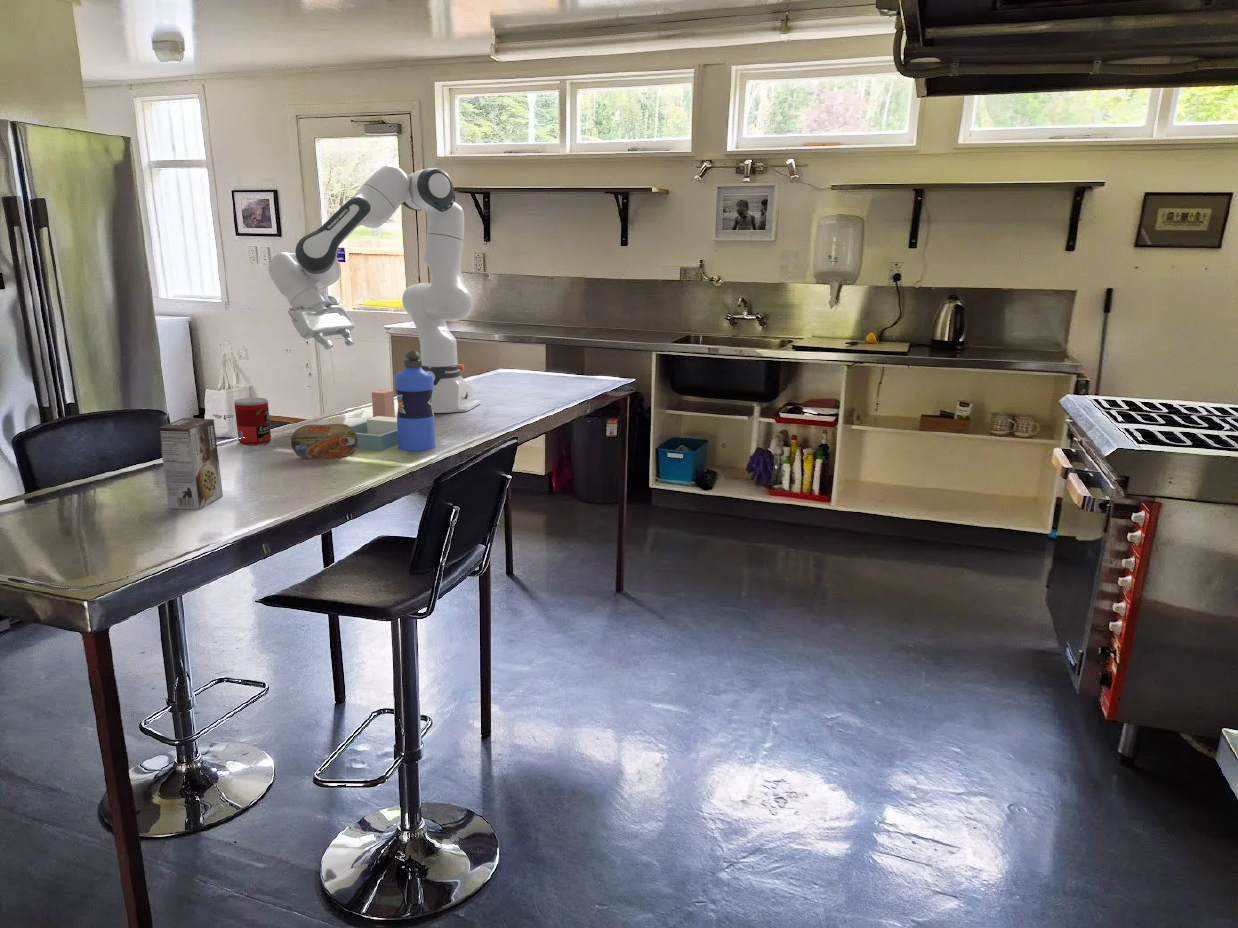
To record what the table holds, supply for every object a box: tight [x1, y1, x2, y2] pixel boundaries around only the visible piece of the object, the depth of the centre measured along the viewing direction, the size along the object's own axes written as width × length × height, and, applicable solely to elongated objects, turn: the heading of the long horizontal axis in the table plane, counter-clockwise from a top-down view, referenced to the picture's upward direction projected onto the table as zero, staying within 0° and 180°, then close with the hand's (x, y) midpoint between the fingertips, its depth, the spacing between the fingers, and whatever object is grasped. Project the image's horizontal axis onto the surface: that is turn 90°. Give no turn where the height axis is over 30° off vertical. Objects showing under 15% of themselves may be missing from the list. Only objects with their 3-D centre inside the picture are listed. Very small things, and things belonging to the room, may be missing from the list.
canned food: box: [233, 397, 272, 446], centre depth 207 cm, size 8×8×11 cm
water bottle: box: [393, 350, 436, 452], centre depth 201 cm, size 9×9×25 cm
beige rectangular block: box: [366, 416, 398, 435], centre depth 212 cm, size 5×9×5 cm, turn 71°
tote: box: [349, 420, 398, 452], centre depth 209 cm, size 18×14×4 cm
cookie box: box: [157, 417, 224, 510], centre depth 157 cm, size 9×6×16 cm
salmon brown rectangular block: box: [371, 389, 396, 418], centre depth 223 cm, size 4×4×11 cm
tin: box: [290, 423, 358, 461], centre depth 194 cm, size 15×3×8 cm, turn 102°
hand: (340, 346), depth 223 cm, fingers open, 8 cm apart
